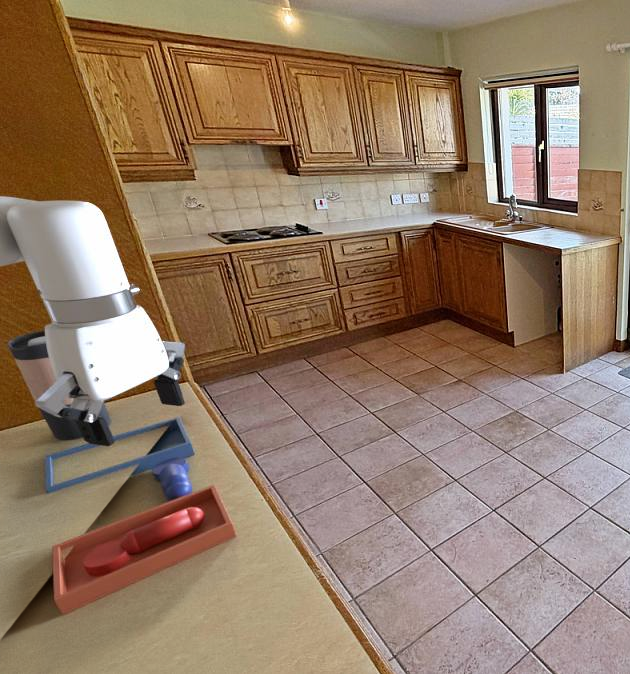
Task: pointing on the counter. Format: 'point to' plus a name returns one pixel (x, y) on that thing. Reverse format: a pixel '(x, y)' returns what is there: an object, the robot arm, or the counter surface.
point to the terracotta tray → (83, 588)
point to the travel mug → (44, 381)
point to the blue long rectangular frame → (165, 448)
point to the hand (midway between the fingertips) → (140, 422)
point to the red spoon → (141, 541)
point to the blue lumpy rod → (173, 477)
